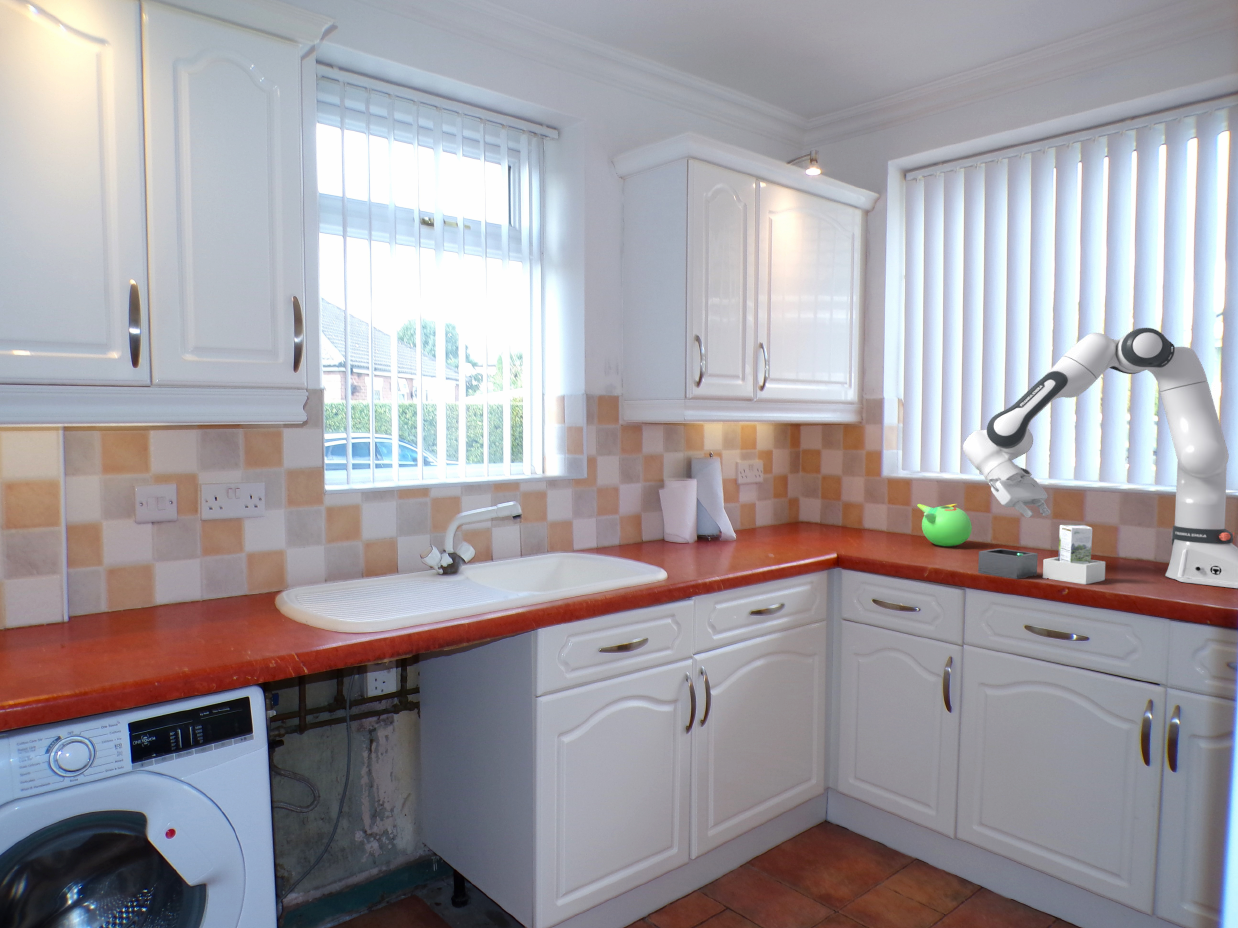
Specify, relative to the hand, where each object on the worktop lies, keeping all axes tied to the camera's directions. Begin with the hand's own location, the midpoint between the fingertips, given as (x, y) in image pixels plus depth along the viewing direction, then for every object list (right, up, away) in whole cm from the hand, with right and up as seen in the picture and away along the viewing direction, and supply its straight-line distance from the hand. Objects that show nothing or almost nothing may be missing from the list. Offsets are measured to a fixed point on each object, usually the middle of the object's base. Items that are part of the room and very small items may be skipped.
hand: (1039, 515), depth 226 cm
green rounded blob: (-5, -14, +53) cm, 55 cm away
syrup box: (+6, -17, -7) cm, 19 cm away
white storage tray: (+6, -17, -7) cm, 19 cm away
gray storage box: (-9, -16, -1) cm, 19 cm away
